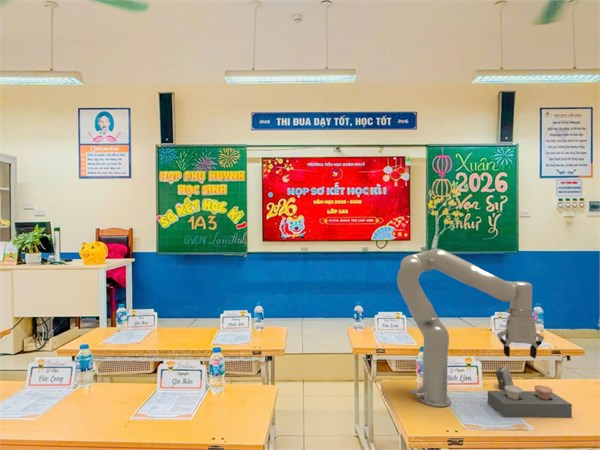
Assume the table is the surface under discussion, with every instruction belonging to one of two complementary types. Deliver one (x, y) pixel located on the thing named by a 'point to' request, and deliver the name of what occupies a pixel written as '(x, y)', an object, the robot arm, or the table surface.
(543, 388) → the terracotta button
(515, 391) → the grey button
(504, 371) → the electrical switch
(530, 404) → the button box
